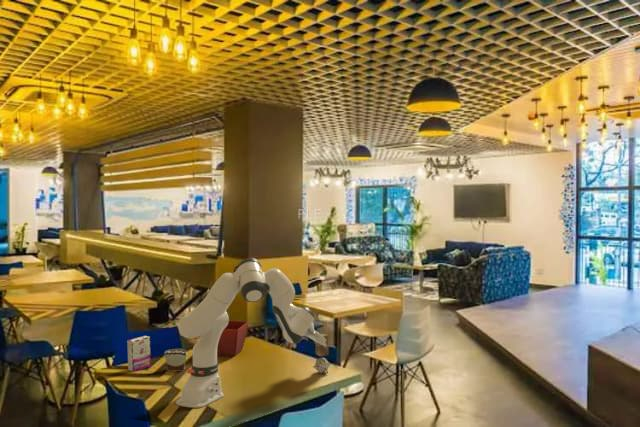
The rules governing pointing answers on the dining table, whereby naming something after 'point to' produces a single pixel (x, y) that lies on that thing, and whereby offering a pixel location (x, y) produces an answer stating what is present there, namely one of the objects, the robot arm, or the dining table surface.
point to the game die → (321, 365)
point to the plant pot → (232, 338)
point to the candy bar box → (139, 353)
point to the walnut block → (322, 347)
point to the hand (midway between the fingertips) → (322, 344)
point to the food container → (175, 359)
